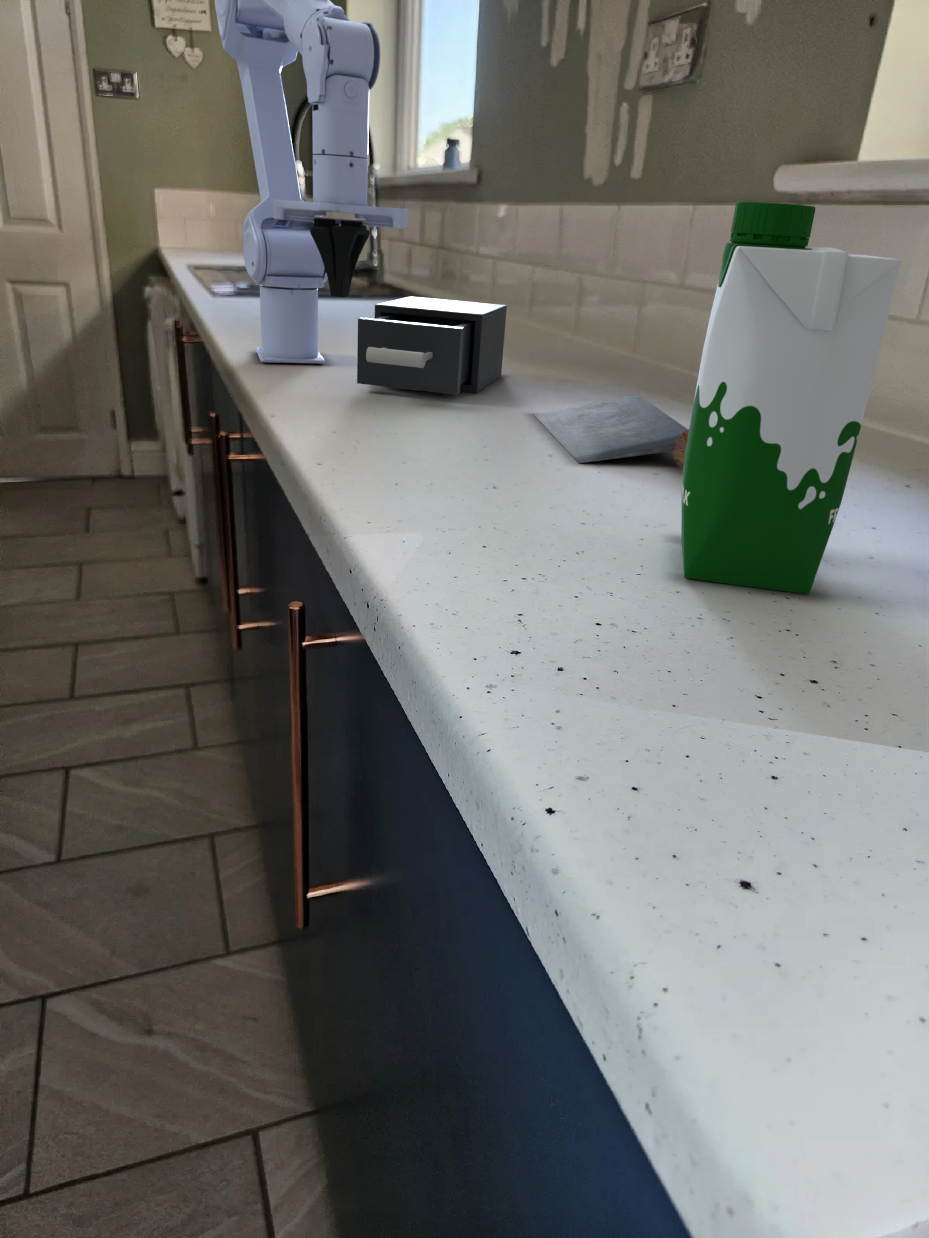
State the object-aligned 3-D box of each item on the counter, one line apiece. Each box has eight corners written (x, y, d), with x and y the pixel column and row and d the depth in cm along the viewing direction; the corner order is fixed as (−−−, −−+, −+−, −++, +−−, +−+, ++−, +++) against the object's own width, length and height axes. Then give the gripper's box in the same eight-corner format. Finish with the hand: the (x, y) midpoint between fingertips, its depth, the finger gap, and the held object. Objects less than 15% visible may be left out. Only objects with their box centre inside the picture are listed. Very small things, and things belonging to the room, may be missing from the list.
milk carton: (666, 534, 58) (723, 203, 50) (807, 552, 57) (890, 214, 48) (668, 582, 50) (735, 199, 42) (831, 604, 49) (935, 211, 40)
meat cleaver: (532, 415, 91) (536, 375, 89) (636, 418, 92) (642, 380, 91) (632, 524, 61) (641, 468, 59) (783, 527, 62) (796, 472, 61)
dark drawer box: (445, 402, 89) (449, 333, 86) (340, 390, 91) (341, 322, 88) (483, 377, 104) (487, 318, 102) (392, 367, 107) (394, 309, 104)
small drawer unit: (476, 393, 100) (482, 314, 96) (372, 381, 102) (374, 304, 99) (501, 375, 112) (507, 305, 108) (407, 365, 114) (410, 296, 111)
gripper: (258, 150, 88) (263, 292, 94) (394, 158, 85) (390, 304, 91) (288, 156, 94) (290, 289, 100) (415, 163, 92) (410, 300, 97)
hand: (339, 296), depth 96 cm, fingers closed
